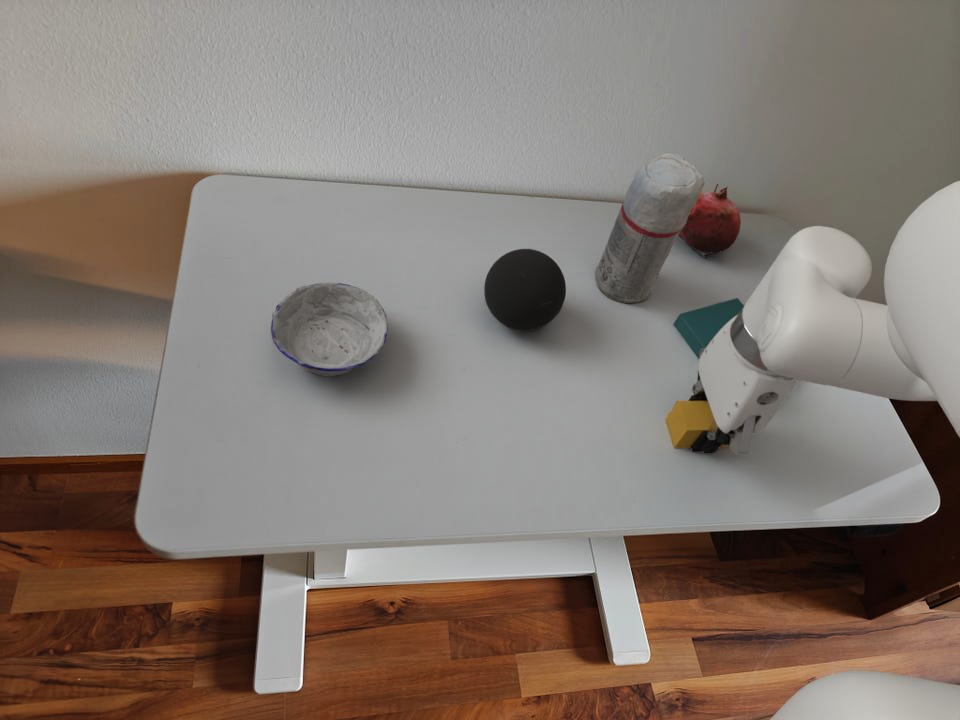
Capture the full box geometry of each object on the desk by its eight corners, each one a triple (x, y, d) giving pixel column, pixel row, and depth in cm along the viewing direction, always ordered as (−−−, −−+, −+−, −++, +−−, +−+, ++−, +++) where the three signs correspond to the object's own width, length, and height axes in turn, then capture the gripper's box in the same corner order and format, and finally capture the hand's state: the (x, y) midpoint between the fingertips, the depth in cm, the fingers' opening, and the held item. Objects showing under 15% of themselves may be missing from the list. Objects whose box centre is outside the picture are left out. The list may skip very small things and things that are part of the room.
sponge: (718, 418, 89) (733, 400, 86) (728, 447, 86) (743, 429, 83) (665, 419, 87) (677, 400, 84) (674, 448, 85) (687, 430, 82)
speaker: (499, 276, 97) (514, 220, 89) (566, 309, 96) (587, 255, 88) (464, 323, 91) (477, 267, 83) (535, 359, 90) (555, 306, 82)
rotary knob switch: (793, 385, 94) (809, 367, 91) (731, 406, 90) (746, 388, 87) (730, 308, 101) (743, 288, 98) (671, 324, 97) (683, 305, 94)
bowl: (276, 399, 80) (273, 373, 76) (270, 310, 88) (268, 283, 84) (393, 389, 83) (396, 364, 80) (378, 305, 91) (380, 278, 87)
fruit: (705, 274, 104) (735, 222, 96) (654, 236, 107) (679, 182, 100) (739, 249, 109) (771, 197, 101) (689, 212, 112) (716, 160, 104)
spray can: (643, 315, 97) (703, 199, 81) (585, 292, 98) (634, 173, 82) (656, 275, 102) (715, 159, 87) (601, 254, 103) (650, 135, 87)
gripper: (836, 407, 68) (748, 495, 83) (775, 276, 78) (705, 375, 92) (764, 407, 67) (687, 497, 81) (710, 274, 77) (650, 375, 91)
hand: (697, 431), depth 87 cm, fingers closed on sponge, 4 cm apart
